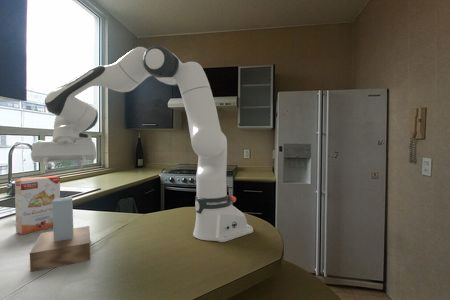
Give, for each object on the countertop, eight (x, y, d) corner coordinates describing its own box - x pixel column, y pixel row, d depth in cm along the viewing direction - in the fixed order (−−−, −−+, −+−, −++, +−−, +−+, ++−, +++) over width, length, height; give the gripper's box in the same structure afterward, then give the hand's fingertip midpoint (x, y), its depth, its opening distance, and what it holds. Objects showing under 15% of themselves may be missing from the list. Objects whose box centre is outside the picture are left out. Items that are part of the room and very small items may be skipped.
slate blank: (73, 233, 82) (72, 196, 82) (72, 238, 78) (71, 199, 77) (55, 236, 80) (54, 198, 79) (53, 241, 75) (52, 201, 75)
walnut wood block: (89, 239, 90) (89, 225, 90) (89, 259, 74) (89, 242, 74) (41, 248, 83) (41, 233, 83) (30, 272, 68) (29, 253, 67)
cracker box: (22, 235, 96) (20, 180, 96) (15, 232, 99) (13, 179, 99) (61, 225, 108) (60, 176, 108) (54, 223, 111) (53, 175, 111)
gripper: (31, 134, 91) (26, 163, 83) (95, 134, 101) (96, 160, 92) (34, 147, 95) (29, 175, 87) (95, 146, 105) (96, 172, 96)
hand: (64, 168), depth 89 cm, fingers open, 8 cm apart
